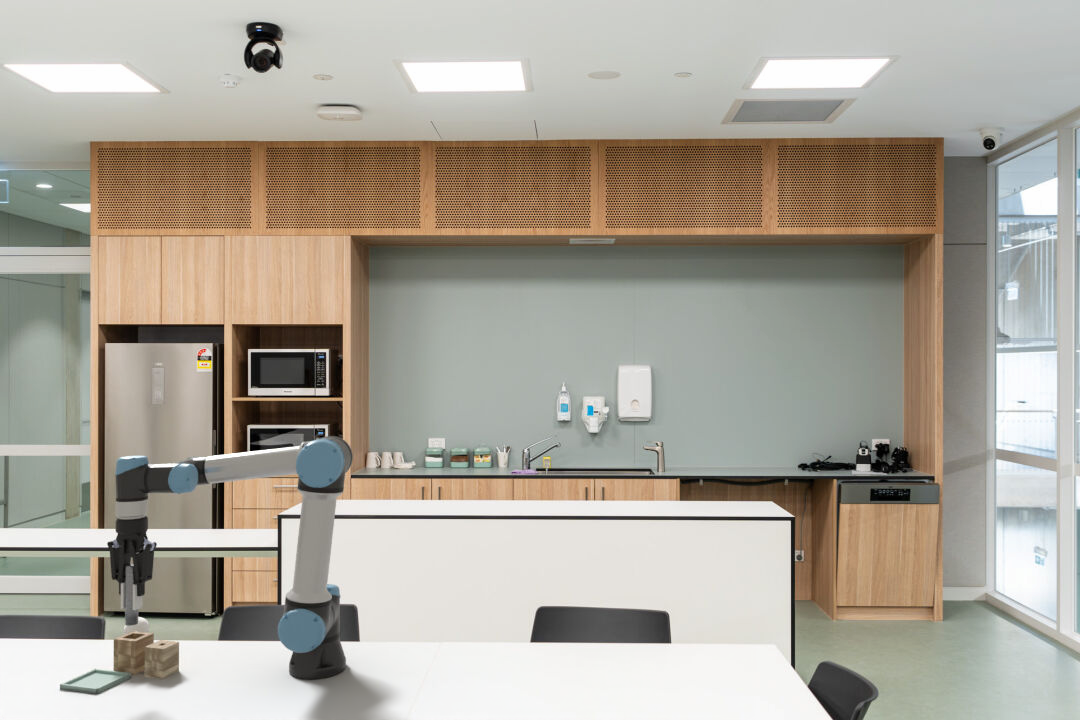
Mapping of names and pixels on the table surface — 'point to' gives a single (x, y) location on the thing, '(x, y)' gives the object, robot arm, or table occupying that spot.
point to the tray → (95, 681)
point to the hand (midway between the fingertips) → (131, 607)
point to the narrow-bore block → (161, 659)
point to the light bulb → (137, 626)
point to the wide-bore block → (131, 651)
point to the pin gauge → (130, 597)
